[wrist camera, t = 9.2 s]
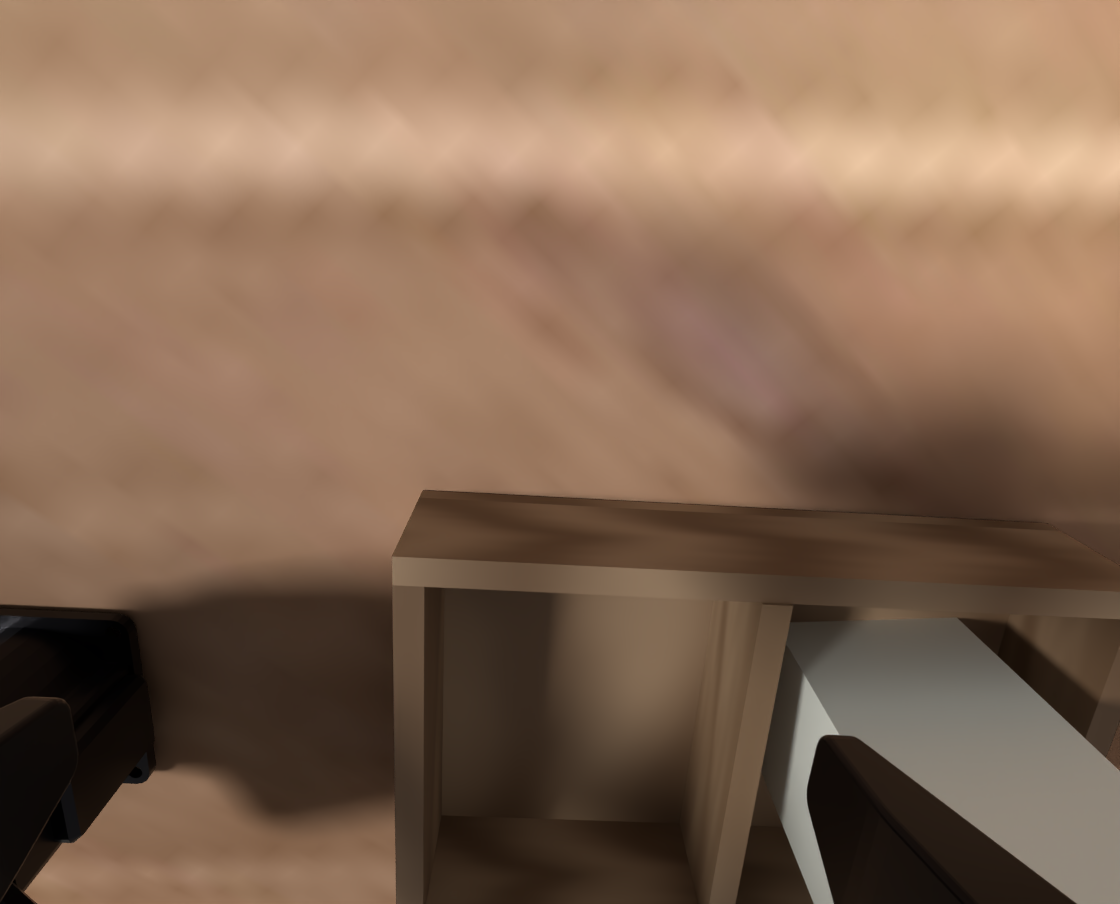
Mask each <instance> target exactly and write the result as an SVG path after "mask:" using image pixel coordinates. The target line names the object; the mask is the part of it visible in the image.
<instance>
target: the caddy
mask: <svg viewBox="0 0 1120 904" xmlns="http://www.w3.org/2000/svg"><path fill="white" fill-rule="evenodd" d="M824 735H847V736H854V737H857V738H858V739H860V740H861V741H863V742H864V743H865V744H867V745H868V746H869V747H871V748H872V749H873V750H875V751H876V752H877V753H879V754H880V755H881V756H883V757H884V758H885V759H887V760H888V761H889V762H891V763H892V764H893V765H894V766H896V767H897V768H898V769H900V770H901V771H902V772H904V773H905V774H906V775H908V776H909V777H910V778H912V779H913V780H914V781H916V782H917V783H918V784H920V785H921V786H922V787H924V788H925V789H926V790H928V791H929V792H930V793H931V794H933V795H934V796H935V797H937V798H938V799H939V800H941V801H942V802H943V803H945V804H946V805H947V806H949V807H950V808H951V809H953V810H954V811H955V812H957V813H958V814H959V815H961V816H962V817H963V818H965V819H966V820H967V821H968V822H970V823H971V824H972V825H974V826H975V827H976V828H978V829H979V830H980V831H982V832H983V833H984V834H986V835H987V836H988V837H990V838H991V839H992V840H994V841H995V842H996V843H998V844H999V845H1000V846H1001V847H1003V848H1004V849H1005V850H1007V851H1008V852H1009V853H1011V854H1012V855H1013V856H1015V857H1016V858H1017V859H1019V860H1020V861H1021V862H1023V863H1024V864H1025V865H1027V866H1028V867H1029V868H1031V869H1032V870H1033V871H1035V872H1036V873H1037V874H1038V875H1040V876H1041V877H1042V878H1044V879H1045V880H1046V881H1048V882H1049V883H1050V884H1052V885H1053V886H1054V887H1056V888H1057V889H1058V890H1060V891H1061V892H1062V893H1064V894H1065V895H1066V896H1068V897H1069V898H1070V899H1071V900H1073V901H1074V902H1075V903H1077V904H1120V771H1119V770H1118V769H1117V768H1116V767H1115V766H1114V765H1113V764H1112V763H1111V762H1110V761H1109V760H1107V759H1106V758H1105V757H1104V756H1103V755H1102V754H1101V753H1100V752H1099V751H1098V750H1097V749H1096V748H1095V747H1094V746H1093V745H1092V744H1090V743H1089V742H1088V741H1087V740H1086V739H1085V738H1084V737H1083V736H1082V735H1081V734H1080V733H1079V732H1078V731H1077V730H1076V729H1075V728H1073V727H1072V726H1071V725H1070V724H1069V723H1068V722H1067V721H1066V720H1065V719H1064V718H1063V717H1062V716H1061V715H1060V714H1059V713H1058V712H1056V711H1055V710H1054V709H1053V708H1052V707H1051V706H1050V705H1049V704H1048V703H1047V702H1046V701H1045V700H1044V699H1043V698H1042V697H1041V696H1039V695H1038V694H1037V693H1036V692H1035V691H1034V690H1033V689H1032V688H1031V687H1030V686H1029V685H1028V684H1027V683H1026V682H1025V681H1024V680H1022V679H1021V678H1020V677H1019V676H1018V675H1017V674H1016V673H1015V672H1014V671H1013V670H1012V669H1011V668H1010V667H1009V666H1008V665H1007V664H1005V663H1004V662H1003V661H1002V660H1001V659H1000V658H999V657H998V656H997V655H996V654H995V653H994V652H993V651H992V650H991V649H990V648H989V647H987V646H986V645H985V644H984V643H983V642H982V641H981V640H980V639H979V638H978V637H977V636H976V635H975V634H974V633H973V632H972V631H970V630H969V629H968V628H967V627H966V626H965V625H964V624H963V623H962V622H961V621H960V620H959V619H958V618H923V619H889V620H855V621H820V622H790V625H789V630H788V636H787V641H786V646H785V651H784V656H783V661H782V666H781V672H780V677H779V682H778V687H777V692H776V697H775V702H774V708H773V713H772V718H771V723H770V728H769V733H768V739H767V744H766V749H765V754H764V759H763V764H762V769H761V773H762V775H763V778H764V780H765V783H766V785H767V788H768V790H769V793H770V795H771V798H772V800H773V803H774V805H775V808H776V810H777V813H778V815H779V818H780V820H781V823H782V825H783V828H784V830H785V833H786V835H787V838H788V840H789V843H790V845H791V848H792V850H793V853H794V855H795V858H796V860H797V863H798V865H799V868H800V870H801V873H802V875H803V878H804V880H805V883H806V885H807V888H808V890H809V893H810V895H811V898H812V900H813V903H814V904H834V903H833V899H832V895H831V892H830V888H829V884H828V881H827V877H826V873H825V869H824V866H823V862H822V858H821V855H820V851H819V847H818V843H817V840H816V836H815V832H814V829H813V825H812V821H811V817H810V814H809V810H808V805H807V785H808V780H809V776H810V772H811V767H812V763H813V759H814V754H815V750H816V746H817V743H818V741H819V739H820V738H821V737H822V736H824Z"/></svg>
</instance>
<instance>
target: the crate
mask: <svg viewBox="0 0 1120 904" xmlns="http://www.w3.org/2000/svg"><path fill="white" fill-rule="evenodd" d="M392 606H393V686H394V766H395V847H396V904H814V903H813V900H812V898H811V895H810V893H809V890H808V888H807V885H806V883H805V880H804V878H803V875H802V873H801V870H800V868H799V865H798V863H797V860H796V858H795V855H794V853H793V850H792V848H791V845H790V843H789V840H788V838H787V835H786V833H785V830H784V828H783V825H782V823H781V820H780V818H779V815H778V813H777V810H776V808H775V805H774V803H773V800H772V798H771V795H770V793H769V790H768V788H767V785H766V783H765V780H764V778H763V775H762V773H761V769H762V764H763V759H764V754H765V749H766V744H767V739H768V733H769V728H770V723H771V718H772V713H773V708H774V702H775V697H776V692H777V687H778V682H779V677H780V672H781V666H782V661H783V656H784V651H785V646H786V641H787V636H788V630H789V625H790V622H820V621H855V620H889V619H923V618H958V619H959V620H960V621H961V622H962V623H963V624H964V625H965V626H966V627H967V628H968V629H969V630H970V631H972V632H973V633H974V634H975V635H976V636H977V637H978V638H979V639H980V640H981V641H982V642H983V643H984V644H985V645H986V646H987V647H989V648H990V649H991V650H992V651H993V652H994V653H995V654H996V655H997V656H998V657H999V658H1000V659H1001V660H1002V661H1003V662H1004V663H1005V664H1007V665H1008V666H1009V667H1010V668H1011V669H1012V670H1013V671H1014V672H1015V673H1016V674H1017V675H1018V676H1019V677H1020V678H1021V679H1022V680H1024V681H1025V682H1026V683H1027V684H1028V685H1029V686H1030V687H1031V688H1032V689H1033V690H1034V691H1035V692H1036V693H1037V694H1038V695H1039V696H1041V697H1042V698H1043V699H1044V700H1045V701H1046V702H1047V703H1048V704H1049V705H1050V706H1051V707H1052V708H1053V709H1054V710H1055V711H1056V712H1058V713H1059V714H1060V715H1061V716H1062V717H1063V718H1064V719H1065V720H1066V721H1067V722H1068V723H1069V724H1070V725H1071V726H1072V727H1073V728H1075V729H1076V730H1077V731H1078V732H1079V733H1080V734H1081V735H1082V736H1083V737H1084V738H1085V739H1086V740H1087V741H1088V742H1089V743H1090V744H1092V745H1093V746H1094V747H1095V748H1096V749H1097V750H1098V751H1099V752H1100V753H1101V754H1102V755H1103V756H1104V757H1105V758H1106V756H1107V753H1108V751H1109V748H1110V746H1111V743H1112V741H1113V738H1114V735H1115V733H1116V730H1117V728H1118V725H1119V722H1120V565H1118V564H1116V563H1114V562H1113V561H1111V560H1109V559H1108V558H1106V557H1104V556H1102V555H1101V554H1099V553H1097V552H1096V551H1094V550H1092V549H1090V548H1089V547H1087V546H1085V545H1084V544H1082V543H1080V542H1078V541H1077V540H1075V539H1073V538H1072V537H1070V536H1068V535H1067V534H1065V533H1063V532H1061V531H1060V530H1058V529H1056V528H1055V527H1053V526H1051V525H1049V524H1048V523H1034V522H1015V521H996V520H977V519H958V518H939V517H920V516H901V515H882V514H863V513H844V512H825V511H806V510H787V509H768V508H749V507H730V506H711V505H692V504H673V503H654V502H635V501H616V500H597V499H578V498H559V497H540V496H521V495H502V494H483V493H464V492H445V491H426V490H423V491H422V493H421V495H420V497H419V500H418V502H417V504H416V506H415V508H414V510H413V512H412V515H411V517H410V519H409V521H408V523H407V525H406V527H405V530H404V532H403V534H402V536H401V538H400V540H399V542H398V545H397V547H396V549H395V551H394V553H393V555H392Z"/></svg>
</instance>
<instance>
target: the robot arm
mask: <svg viewBox="0 0 1120 904" xmlns="http://www.w3.org/2000/svg"><path fill="white" fill-rule="evenodd" d="M112 627H114V628H117V629H118V630H119V631H120V633H121V634H120V633H117V632H115V631H114V630H113V628H112ZM154 740H155V737H154V731H153V724H152V717H151V710H150V703H149V696H148V689H147V683H146V681H145V679H144V677H143V673H142V667H141V660H140V653H139V646H138V639H137V632H136V627H135V624H134V622H133V621H132V620H131V619H130V618H129V617H127V616H125V615H123V614H117V613H95V612H72V611H50V610H27V609H5V608H0V904H37V903H36V902H34V901H33V900H32V899H31V898H30V897H29V896H28V895H27V894H26V893H24V891H25V890H26V889H27V887H28V886H29V885H30V883H31V882H32V881H33V880H34V878H35V877H36V876H37V875H38V873H39V872H40V871H41V869H42V868H43V867H44V866H45V864H46V863H47V862H48V861H49V859H50V858H51V857H52V855H53V854H54V853H55V852H56V850H57V849H58V848H59V847H60V845H61V844H62V843H74V842H75V841H76V840H77V839H79V838H80V837H81V836H82V835H83V834H84V833H85V832H86V830H87V829H88V828H89V826H90V825H91V824H92V822H93V821H94V820H95V818H96V817H97V816H98V815H99V813H100V812H101V811H102V809H103V808H104V807H105V805H106V804H107V803H108V801H109V800H110V799H111V798H112V796H113V795H114V794H115V792H116V791H117V790H118V788H119V787H120V786H121V784H122V783H131V784H138V783H143V782H145V781H147V779H148V778H149V776H150V775H151V774H152V772H153V771H154V769H155V766H156V762H155V755H154V749H153V742H154ZM135 766H136V767H135ZM137 767H138V768H140V769H138V768H137ZM807 805H808V810H809V814H810V817H811V821H812V825H813V829H814V832H815V836H816V840H817V843H818V847H819V851H820V855H821V858H822V862H823V866H824V869H825V873H826V877H827V881H828V884H829V888H830V892H831V895H832V899H833V903H834V904H1077V903H1075V902H1074V901H1073V900H1071V899H1070V898H1069V897H1068V896H1066V895H1065V894H1064V893H1062V892H1061V891H1060V890H1058V889H1057V888H1056V887H1054V886H1053V885H1052V884H1050V883H1049V882H1048V881H1046V880H1045V879H1044V878H1042V877H1041V876H1040V875H1038V874H1037V873H1036V872H1035V871H1033V870H1032V869H1031V868H1029V867H1028V866H1027V865H1025V864H1024V863H1023V862H1021V861H1020V860H1019V859H1017V858H1016V857H1015V856H1013V855H1012V854H1011V853H1009V852H1008V851H1007V850H1005V849H1004V848H1003V847H1001V846H1000V845H999V844H998V843H996V842H995V841H994V840H992V839H991V838H990V837H988V836H987V835H986V834H984V833H983V832H982V831H980V830H979V829H978V828H976V827H975V826H974V825H972V824H971V823H970V822H968V821H967V820H966V819H965V818H963V817H962V816H961V815H959V814H958V813H957V812H955V811H954V810H953V809H951V808H950V807H949V806H947V805H946V804H945V803H943V802H942V801H941V800H939V799H938V798H937V797H935V796H934V795H933V794H931V793H930V792H929V791H928V790H926V789H925V788H924V787H922V786H921V785H920V784H918V783H917V782H916V781H914V780H913V779H912V778H910V777H909V776H908V775H906V774H905V773H904V772H902V771H901V770H900V769H898V768H897V767H896V766H894V765H893V764H892V763H891V762H889V761H888V760H887V759H885V758H884V757H883V756H881V755H880V754H879V753H877V752H876V751H875V750H873V749H872V748H871V747H869V746H868V745H867V744H865V743H864V742H863V741H861V740H860V739H858V738H857V737H854V736H847V735H824V736H822V737H821V738H820V739H819V741H818V743H817V746H816V750H815V754H814V759H813V763H812V767H811V772H810V776H809V780H808V785H807Z"/></svg>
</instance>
